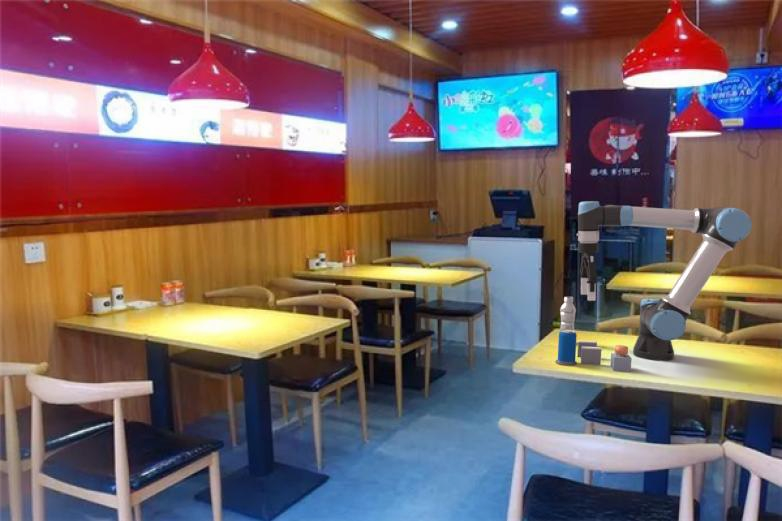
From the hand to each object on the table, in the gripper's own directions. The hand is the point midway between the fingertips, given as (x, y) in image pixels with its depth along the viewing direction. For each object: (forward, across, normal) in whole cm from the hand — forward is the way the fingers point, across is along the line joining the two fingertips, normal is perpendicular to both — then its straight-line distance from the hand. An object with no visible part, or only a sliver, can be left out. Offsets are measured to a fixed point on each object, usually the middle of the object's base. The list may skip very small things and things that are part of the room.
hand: (588, 297), depth 234 cm
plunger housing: (+25, +10, +10) cm, 29 cm away
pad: (+24, +5, -9) cm, 26 cm away
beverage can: (+24, +5, -9) cm, 26 cm away
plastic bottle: (+25, -27, -4) cm, 37 cm away
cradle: (+25, 0, 0) cm, 25 cm away
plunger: (+24, +10, +10) cm, 28 cm away
